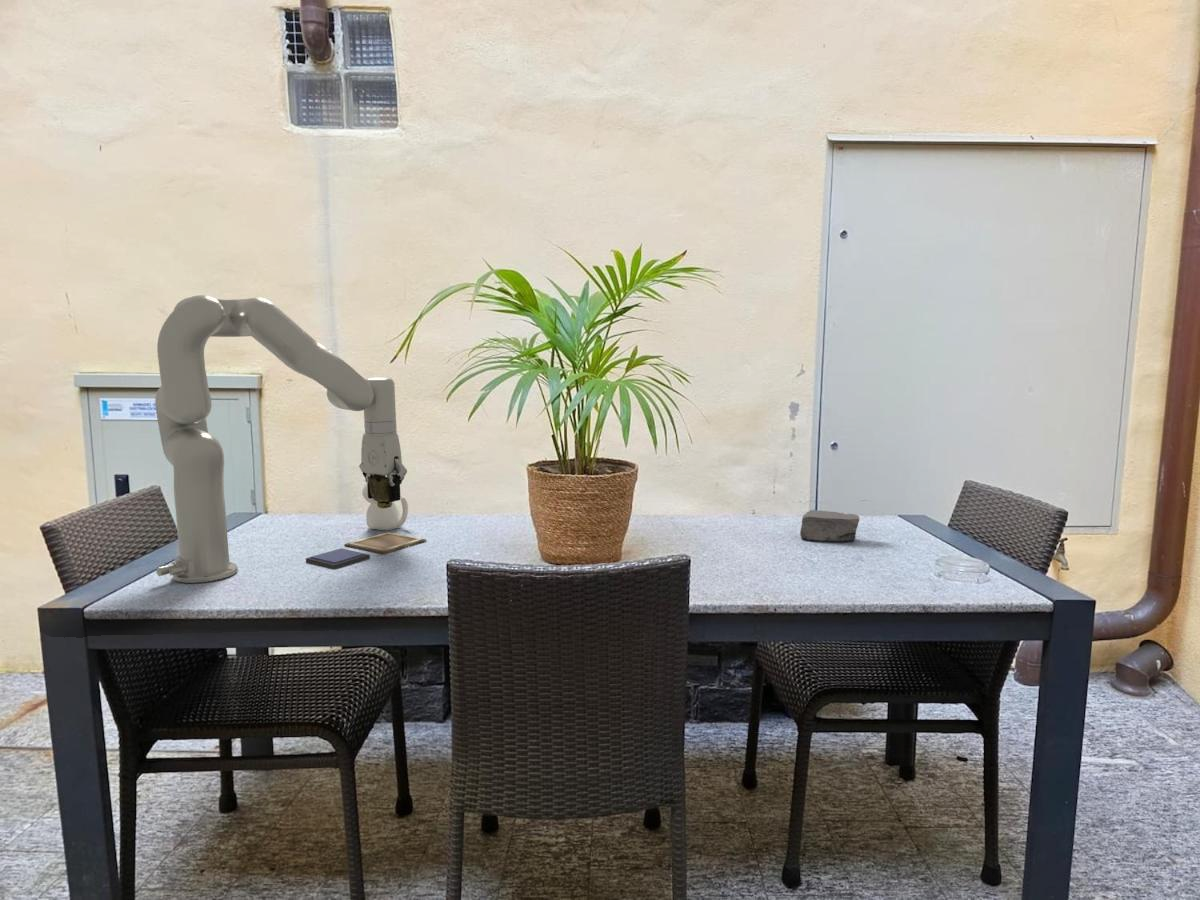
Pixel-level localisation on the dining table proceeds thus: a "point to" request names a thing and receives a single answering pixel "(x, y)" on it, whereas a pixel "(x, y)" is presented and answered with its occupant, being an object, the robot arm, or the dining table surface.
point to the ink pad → (337, 558)
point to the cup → (380, 490)
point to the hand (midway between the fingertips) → (384, 498)
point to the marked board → (385, 542)
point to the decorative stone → (828, 527)
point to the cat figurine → (384, 514)
